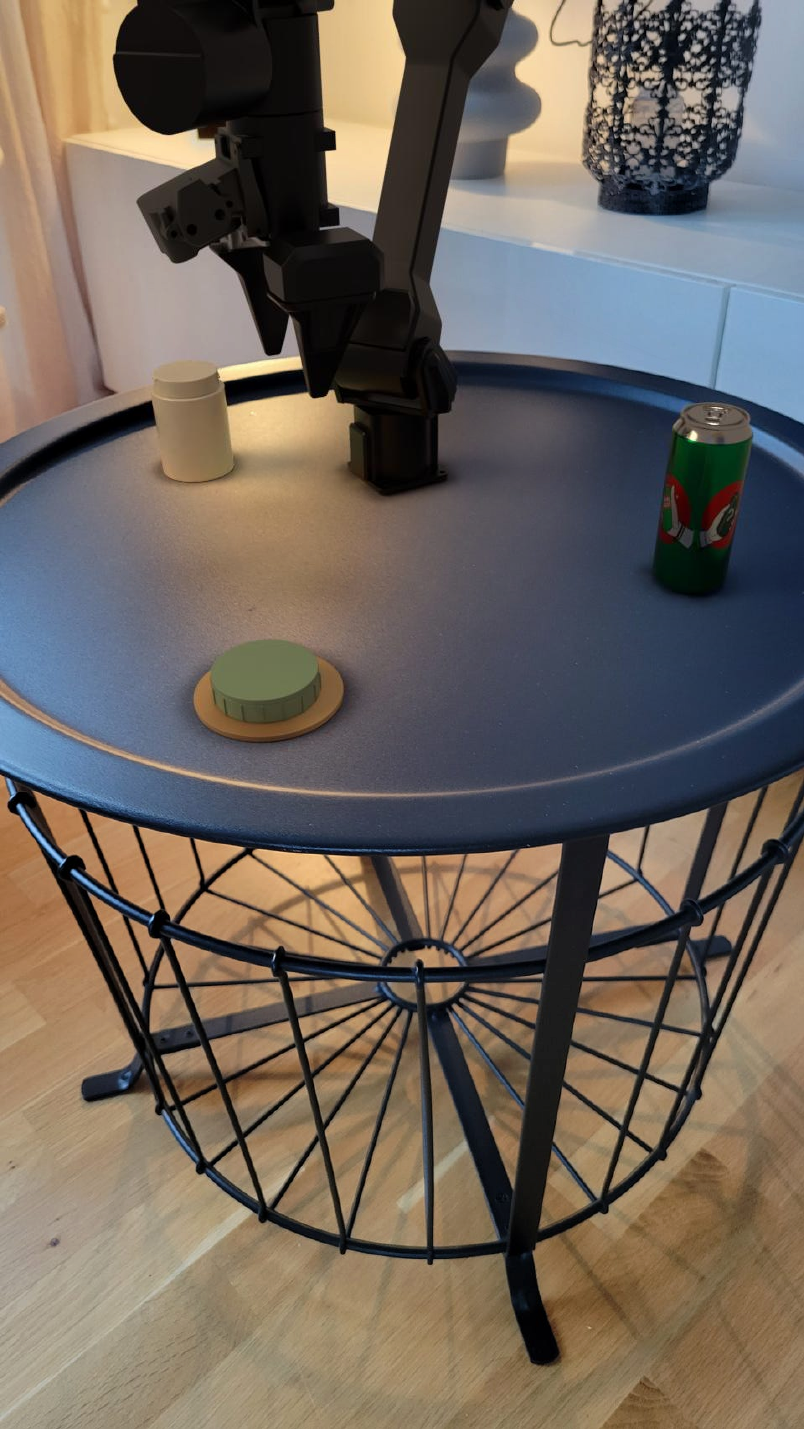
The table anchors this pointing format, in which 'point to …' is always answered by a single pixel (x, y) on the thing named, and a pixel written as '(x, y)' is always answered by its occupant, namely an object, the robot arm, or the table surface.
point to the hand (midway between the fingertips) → (294, 375)
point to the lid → (265, 680)
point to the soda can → (701, 496)
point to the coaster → (278, 730)
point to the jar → (192, 421)
